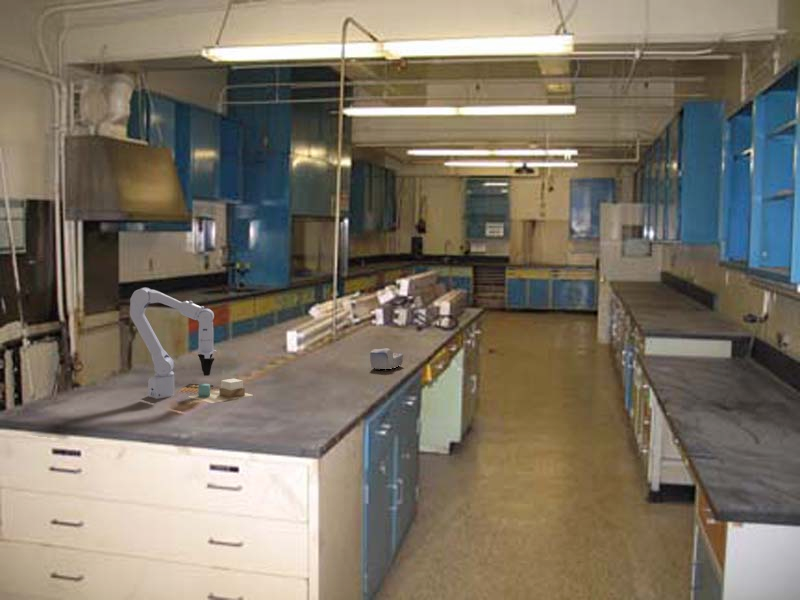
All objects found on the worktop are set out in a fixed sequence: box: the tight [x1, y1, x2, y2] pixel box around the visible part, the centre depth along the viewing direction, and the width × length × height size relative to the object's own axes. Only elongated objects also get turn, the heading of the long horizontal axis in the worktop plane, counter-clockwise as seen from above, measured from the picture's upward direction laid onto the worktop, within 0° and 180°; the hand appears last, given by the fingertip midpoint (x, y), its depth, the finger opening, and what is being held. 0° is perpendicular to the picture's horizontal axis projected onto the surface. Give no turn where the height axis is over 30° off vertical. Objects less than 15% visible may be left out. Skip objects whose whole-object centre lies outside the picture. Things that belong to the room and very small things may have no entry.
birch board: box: [188, 390, 253, 404], centre depth 301 cm, size 20×16×1 cm
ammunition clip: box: [177, 383, 214, 395], centre depth 310 cm, size 11×2×12 cm
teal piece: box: [197, 383, 211, 397], centre depth 299 cm, size 4×4×4 cm
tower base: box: [218, 387, 246, 398], centre depth 302 cm, size 7×7×3 cm
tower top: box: [220, 378, 244, 390], centre depth 301 cm, size 6×6×3 cm
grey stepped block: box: [369, 347, 404, 370], centre depth 372 cm, size 13×11×20 cm
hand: (206, 373), depth 301 cm, fingers open, 7 cm apart
